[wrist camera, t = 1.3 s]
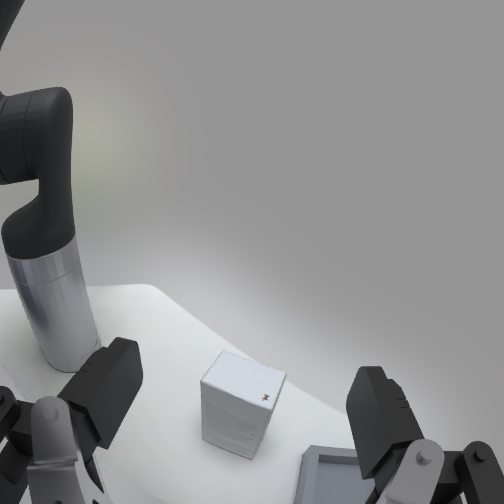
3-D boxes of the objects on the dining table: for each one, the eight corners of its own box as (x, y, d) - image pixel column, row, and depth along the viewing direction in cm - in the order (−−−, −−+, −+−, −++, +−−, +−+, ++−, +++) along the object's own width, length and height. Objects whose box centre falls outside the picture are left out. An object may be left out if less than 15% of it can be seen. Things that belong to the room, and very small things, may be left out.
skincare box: (265, 431, 27) (289, 372, 21) (252, 460, 23) (273, 411, 18) (217, 412, 29) (222, 347, 23) (200, 439, 25) (198, 381, 19)
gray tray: (290, 522, 17) (298, 519, 15) (302, 454, 24) (310, 444, 23) (380, 522, 15) (394, 517, 14) (382, 459, 23) (394, 449, 22)
